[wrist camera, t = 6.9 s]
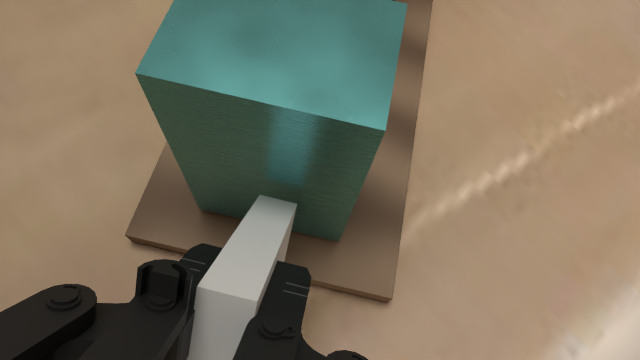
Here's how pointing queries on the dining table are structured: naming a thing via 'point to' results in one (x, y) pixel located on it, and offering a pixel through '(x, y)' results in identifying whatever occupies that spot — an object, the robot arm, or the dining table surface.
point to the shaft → (275, 100)
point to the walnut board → (365, 219)
